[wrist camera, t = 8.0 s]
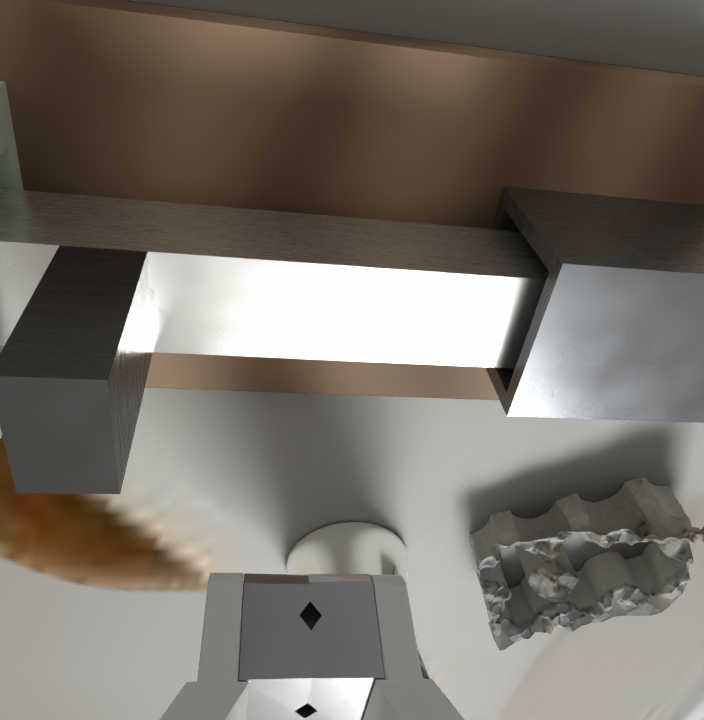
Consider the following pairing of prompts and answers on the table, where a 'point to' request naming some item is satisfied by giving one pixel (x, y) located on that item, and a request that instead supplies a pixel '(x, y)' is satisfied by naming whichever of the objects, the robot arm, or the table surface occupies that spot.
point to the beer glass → (353, 557)
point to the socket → (7, 151)
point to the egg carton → (599, 573)
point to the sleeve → (609, 308)
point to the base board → (327, 139)
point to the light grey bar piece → (222, 309)
